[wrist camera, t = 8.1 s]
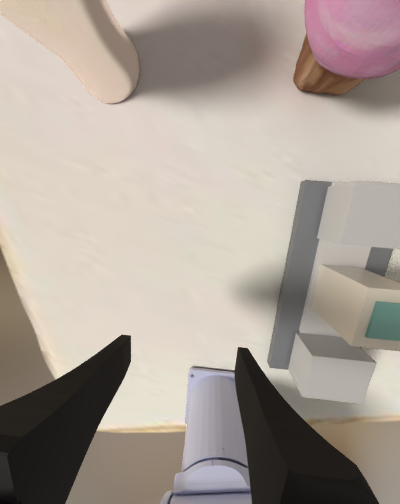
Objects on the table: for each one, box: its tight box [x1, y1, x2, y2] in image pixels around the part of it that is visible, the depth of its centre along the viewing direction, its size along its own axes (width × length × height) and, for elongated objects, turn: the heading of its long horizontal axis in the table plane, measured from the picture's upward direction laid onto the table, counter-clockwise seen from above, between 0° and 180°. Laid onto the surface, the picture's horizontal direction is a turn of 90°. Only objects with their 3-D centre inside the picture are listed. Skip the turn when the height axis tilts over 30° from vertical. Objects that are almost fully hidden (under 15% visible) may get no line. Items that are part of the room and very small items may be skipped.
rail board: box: [267, 180, 400, 404], centre depth 19 cm, size 22×10×5 cm, turn 176°
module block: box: [311, 264, 400, 351], centre depth 17 cm, size 5×4×6 cm
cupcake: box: [294, 0, 400, 95], centre depth 12 cm, size 9×9×10 cm
